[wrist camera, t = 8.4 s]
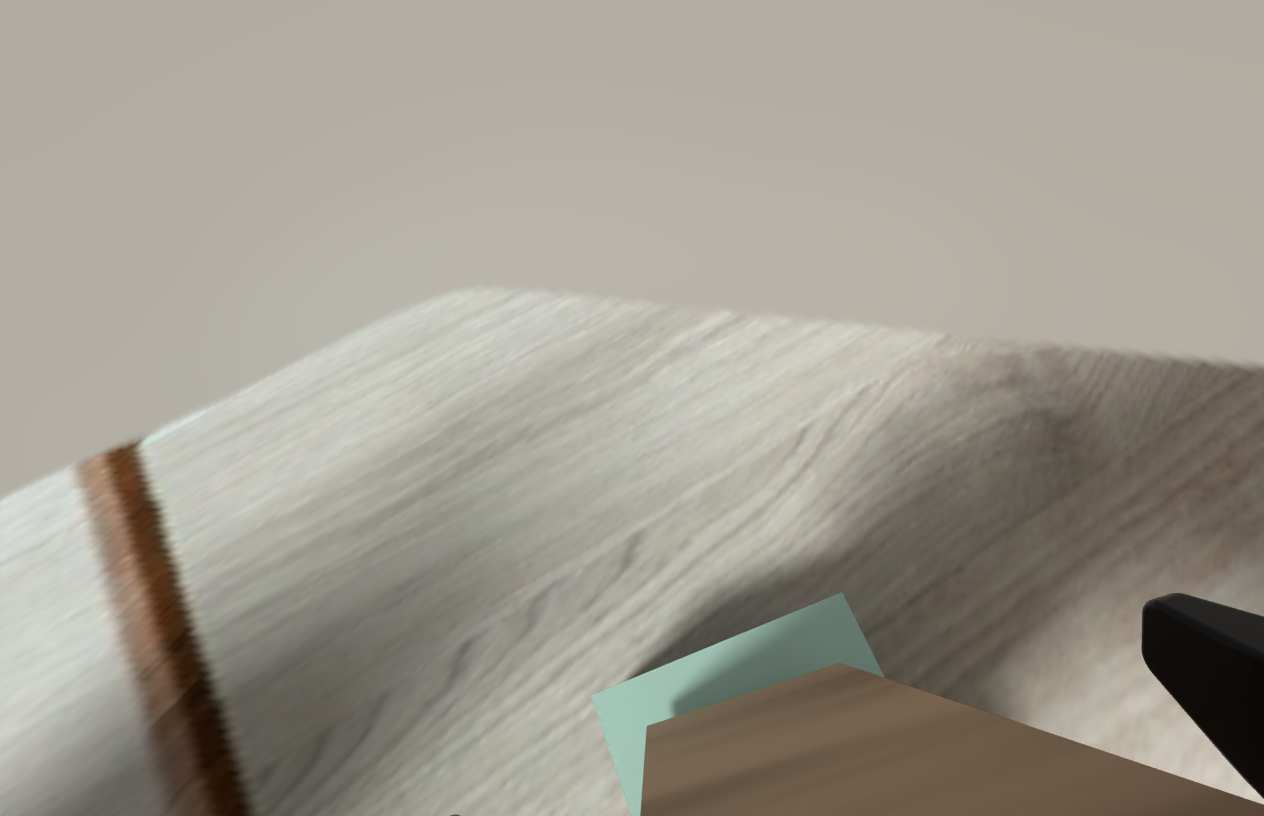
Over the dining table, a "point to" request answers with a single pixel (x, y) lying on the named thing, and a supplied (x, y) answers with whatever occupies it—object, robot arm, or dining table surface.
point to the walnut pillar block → (893, 760)
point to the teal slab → (726, 678)
